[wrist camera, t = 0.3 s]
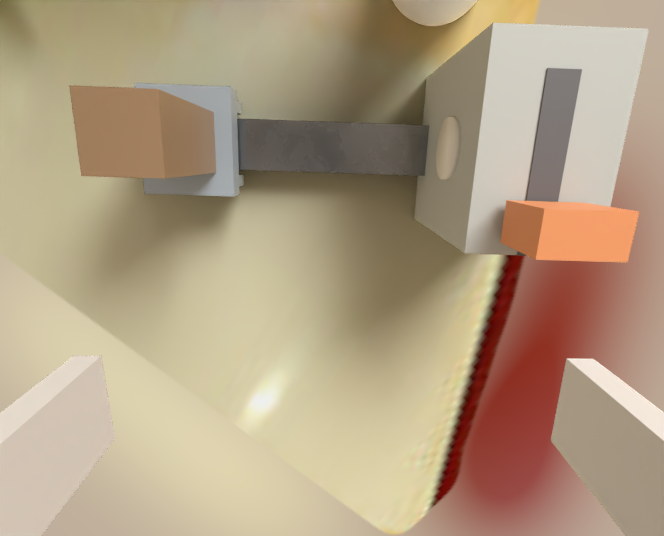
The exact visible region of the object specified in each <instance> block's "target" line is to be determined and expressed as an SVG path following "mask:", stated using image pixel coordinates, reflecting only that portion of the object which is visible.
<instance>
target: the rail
mask: <svg viewBox="0 0 664 536" xmlns="http://www.w3.org/2000/svg"><path fill="white" fill-rule="evenodd" d="M237 129H238V162H239V170H263V171H293V172H324V173H354V174H385V175H416V176H425V167H426V156H427V145H428V134H429V125H403V124H375V123H346V122H317V121H289V120H260V119H237Z"/></svg>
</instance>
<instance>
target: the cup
mask: <svg viewBox="0 0 664 536" xmlns="http://www.w3.org/2000/svg"><path fill="white" fill-rule="evenodd" d="M392 1H393V3H394V4H395V6H396V7H397V9H398V10H399V11H400V12H401V13H402V14H403V15H404V16H406V17H407V18H408V19H410V20H412V21H413V22H416V23H418V24H421V25H426V26H440V25H445V24H448V23H451V22H453V21H455V20H457V19H458V18H460V17H461V16H463V15H464V14H465V13H466V12H467V11H469V10H470V8H471V7H472V6H473V5H474V4H475V3H476V2H477V1H478V0H392Z"/></svg>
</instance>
